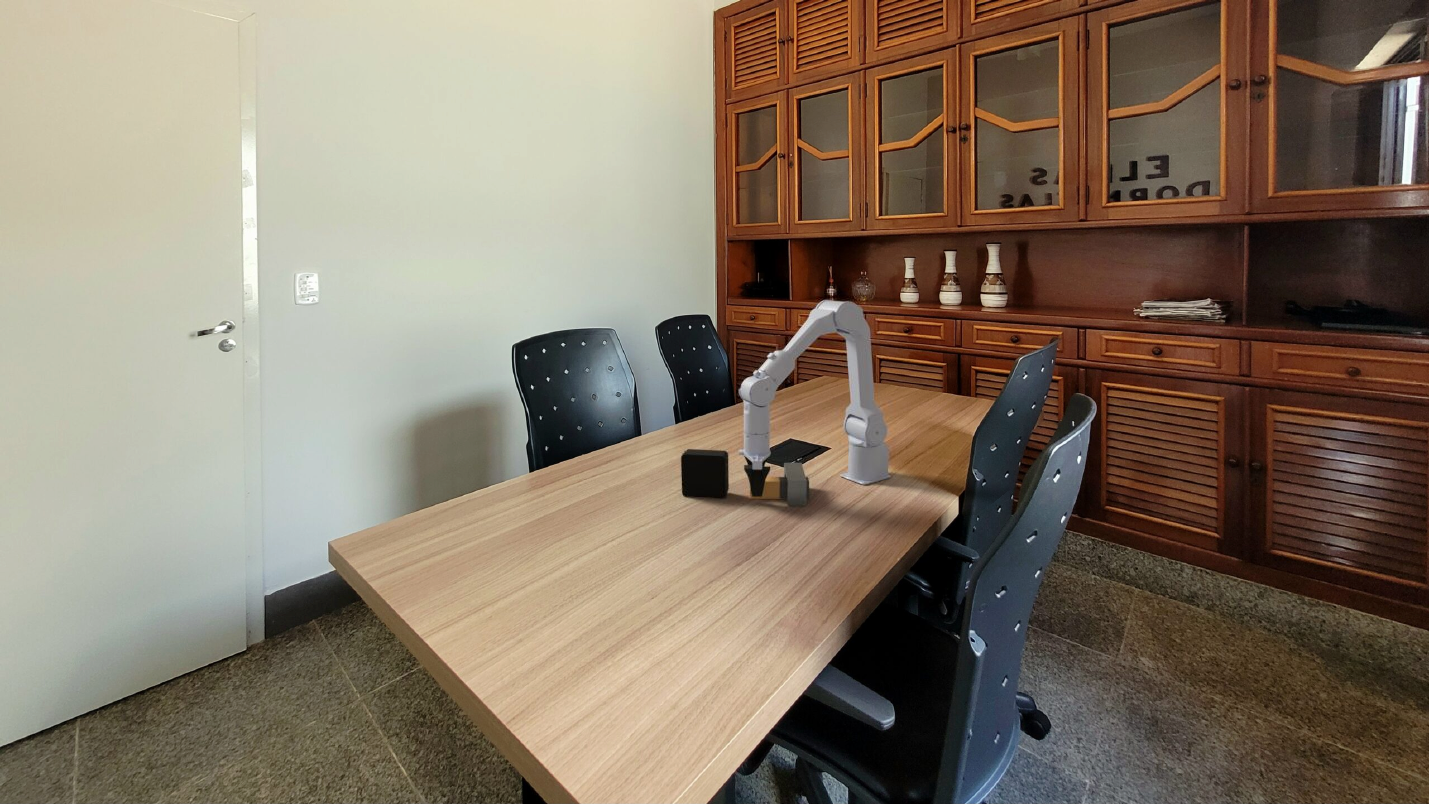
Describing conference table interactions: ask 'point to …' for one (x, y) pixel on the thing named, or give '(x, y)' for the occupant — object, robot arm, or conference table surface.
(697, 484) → the electronic device
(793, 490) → the grey rectangular block
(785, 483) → the orange and grey bar
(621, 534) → the conference table surface
